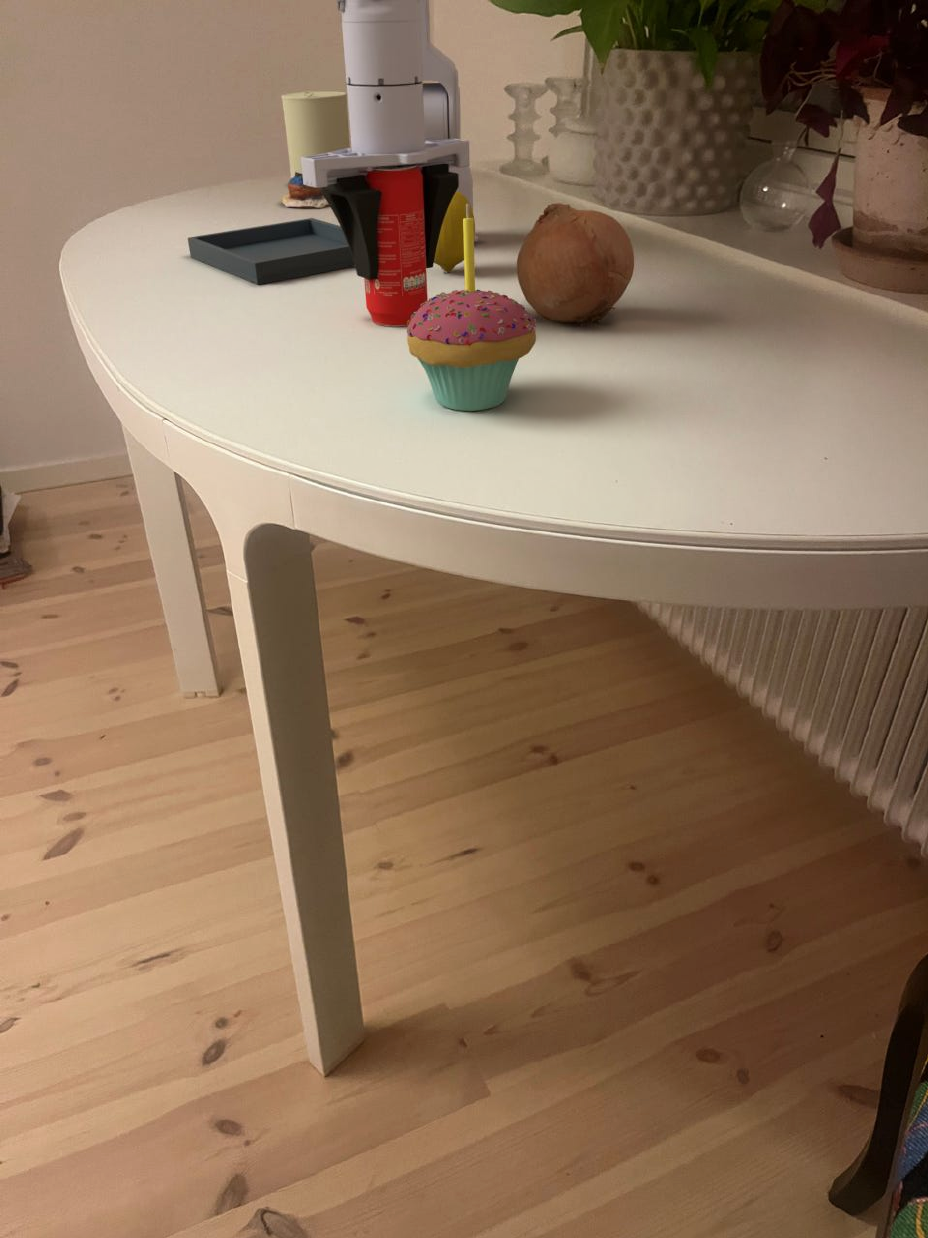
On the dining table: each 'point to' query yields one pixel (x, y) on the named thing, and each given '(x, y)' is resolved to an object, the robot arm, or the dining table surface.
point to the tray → (275, 250)
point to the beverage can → (398, 246)
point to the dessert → (303, 194)
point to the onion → (574, 264)
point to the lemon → (453, 234)
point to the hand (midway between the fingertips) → (395, 271)
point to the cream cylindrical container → (314, 125)
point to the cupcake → (470, 340)
